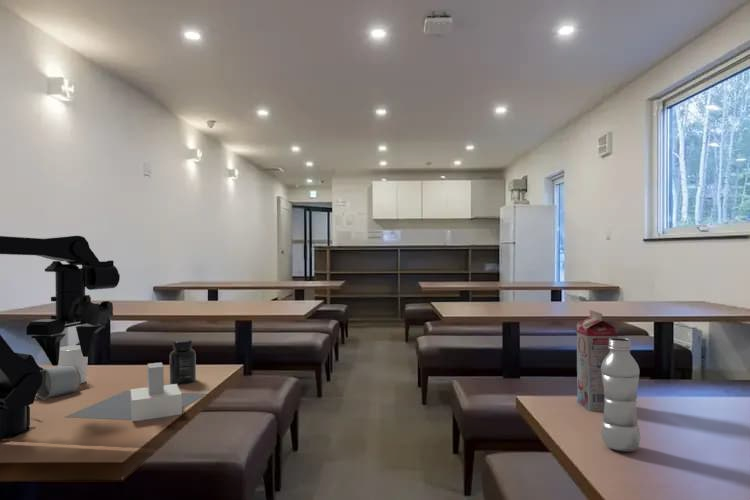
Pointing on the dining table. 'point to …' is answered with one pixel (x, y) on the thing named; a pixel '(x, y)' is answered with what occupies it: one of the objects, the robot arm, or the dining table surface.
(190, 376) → the supplement bottle
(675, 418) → the dining table surface
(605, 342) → the juice carton
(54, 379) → the ceramic mug
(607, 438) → the plastic bottle
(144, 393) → the cover
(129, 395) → the mat
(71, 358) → the white cup
